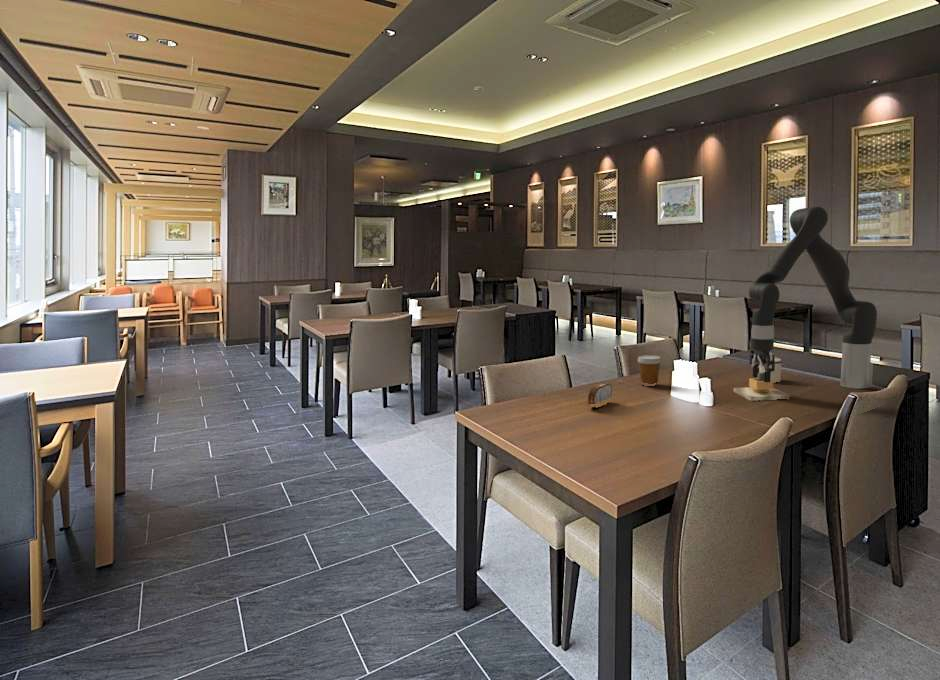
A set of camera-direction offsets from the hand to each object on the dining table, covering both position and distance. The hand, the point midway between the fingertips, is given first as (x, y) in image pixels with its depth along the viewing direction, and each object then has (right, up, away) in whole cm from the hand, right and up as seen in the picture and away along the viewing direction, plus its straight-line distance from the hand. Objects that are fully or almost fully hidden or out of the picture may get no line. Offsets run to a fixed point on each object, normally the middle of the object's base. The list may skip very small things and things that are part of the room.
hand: (761, 379), depth 211 cm
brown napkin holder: (-61, -10, -4) cm, 62 cm away
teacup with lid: (+15, -2, +24) cm, 29 cm away
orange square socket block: (0, -3, 0) cm, 3 cm away
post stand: (0, -6, +1) cm, 6 cm away
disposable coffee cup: (-34, -4, +25) cm, 42 cm away
